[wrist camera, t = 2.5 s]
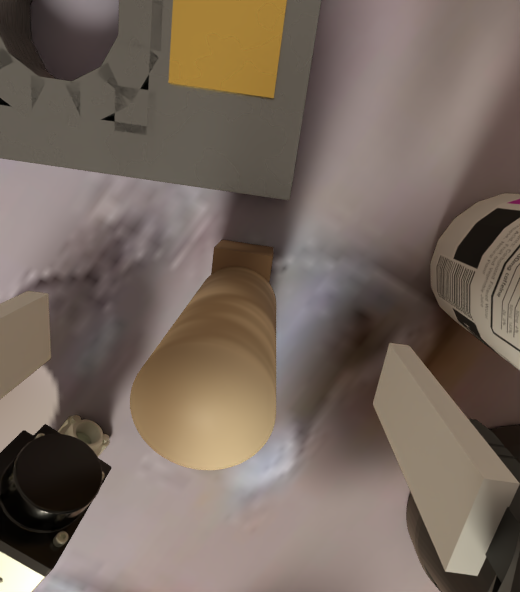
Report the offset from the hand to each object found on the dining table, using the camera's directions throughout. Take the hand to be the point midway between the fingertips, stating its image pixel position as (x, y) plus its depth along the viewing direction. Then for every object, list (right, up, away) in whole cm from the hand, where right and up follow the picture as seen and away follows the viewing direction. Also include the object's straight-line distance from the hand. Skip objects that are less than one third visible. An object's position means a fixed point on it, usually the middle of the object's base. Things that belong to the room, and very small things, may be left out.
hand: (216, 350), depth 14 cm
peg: (0, +2, +6) cm, 7 cm away
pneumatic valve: (-12, -8, +13) cm, 20 cm away
